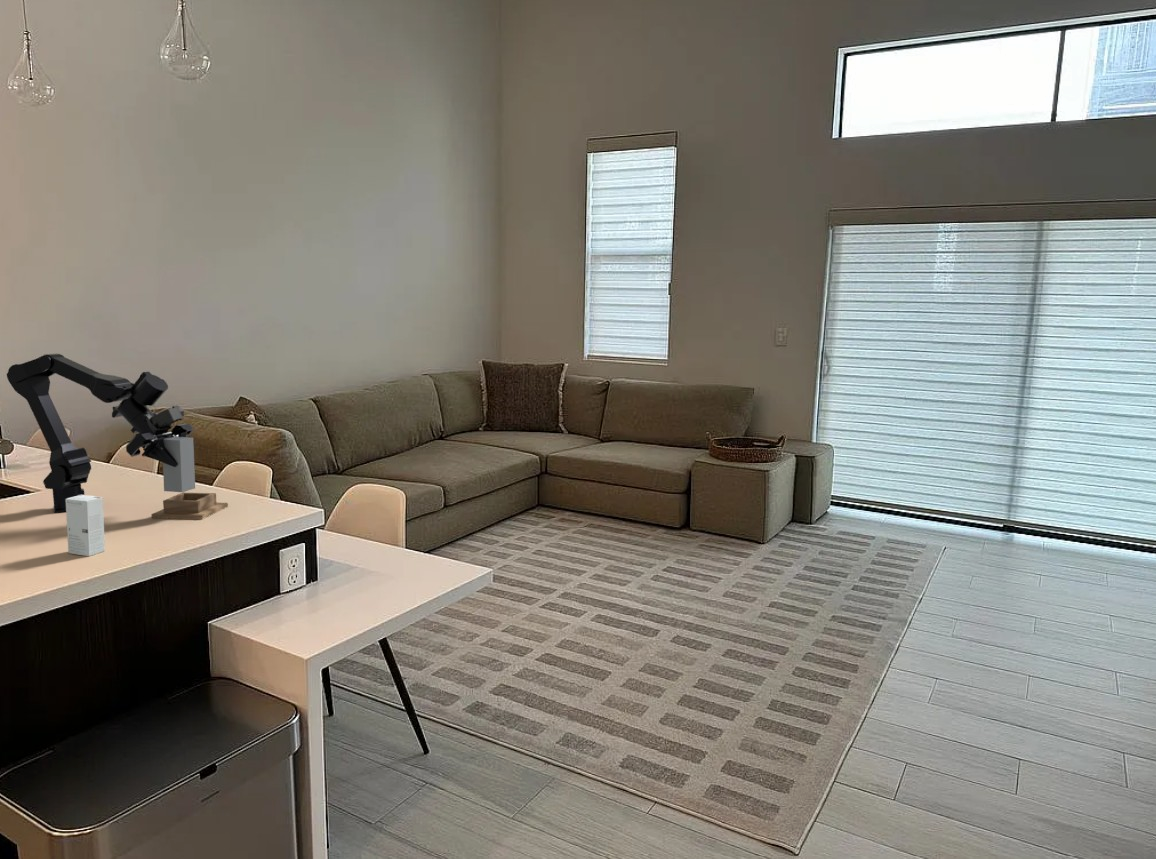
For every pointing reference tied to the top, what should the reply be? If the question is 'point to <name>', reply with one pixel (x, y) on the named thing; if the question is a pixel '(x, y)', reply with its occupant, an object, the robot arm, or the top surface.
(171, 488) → the grey rectangular block
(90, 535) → the skincare box
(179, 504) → the walnut socket
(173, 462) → the robot arm
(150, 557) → the top surface
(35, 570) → the top surface
